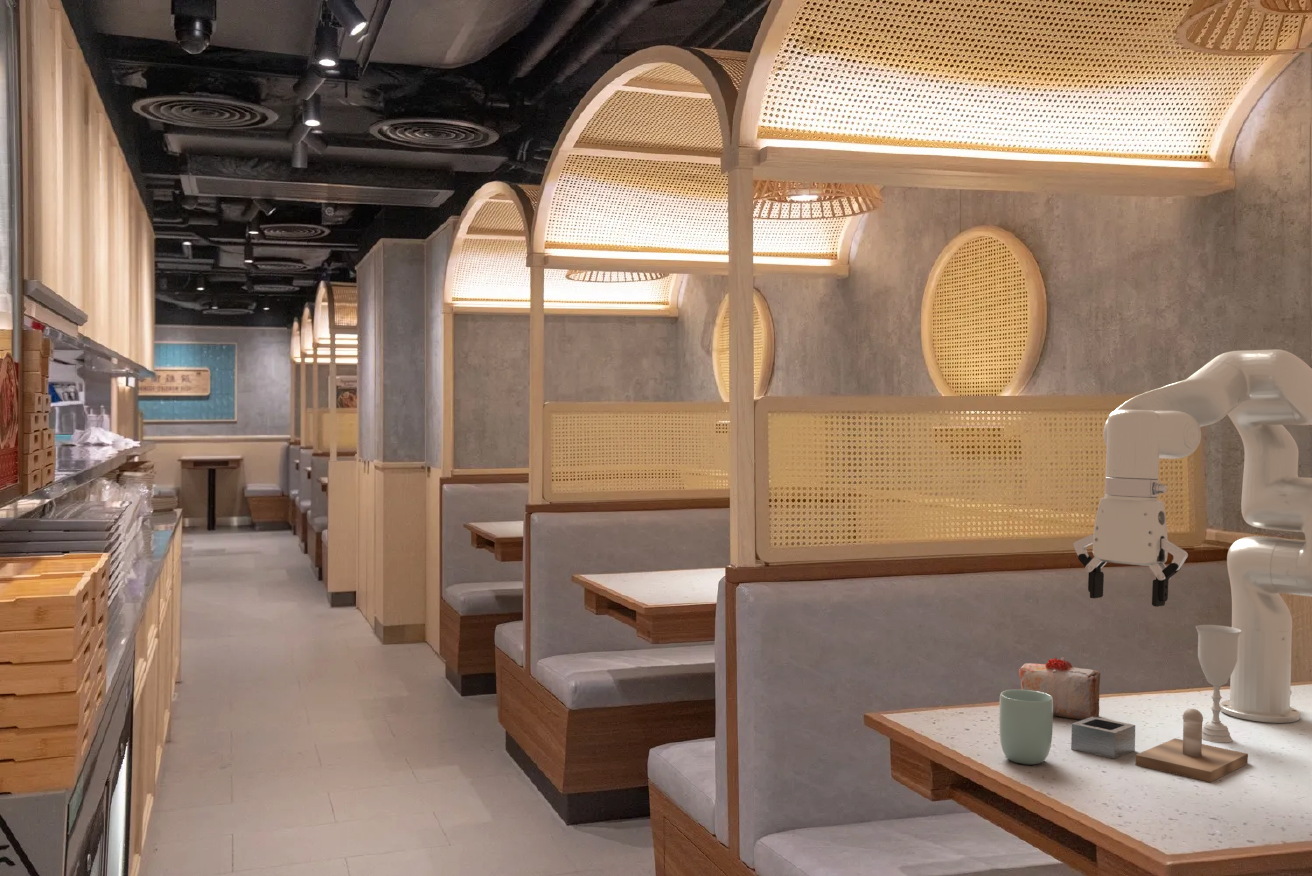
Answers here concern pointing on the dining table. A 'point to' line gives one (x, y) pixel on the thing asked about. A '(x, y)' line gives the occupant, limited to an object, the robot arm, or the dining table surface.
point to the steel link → (1103, 737)
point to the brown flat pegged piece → (1192, 754)
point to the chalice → (1217, 670)
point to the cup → (1025, 725)
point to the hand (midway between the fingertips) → (1126, 601)
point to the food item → (1064, 687)
